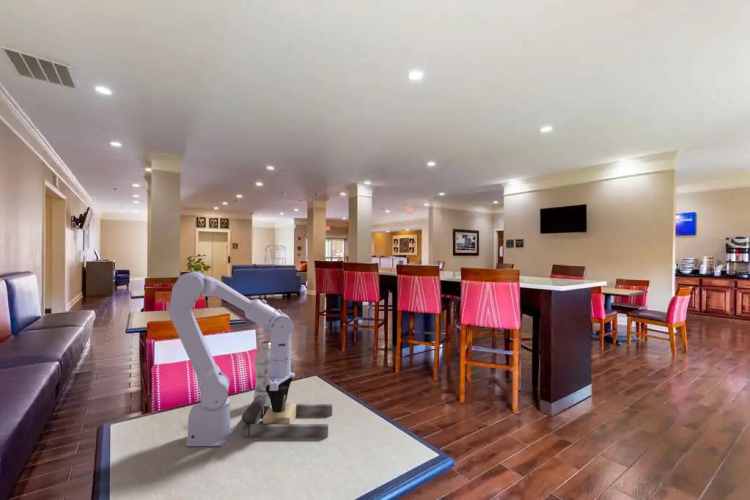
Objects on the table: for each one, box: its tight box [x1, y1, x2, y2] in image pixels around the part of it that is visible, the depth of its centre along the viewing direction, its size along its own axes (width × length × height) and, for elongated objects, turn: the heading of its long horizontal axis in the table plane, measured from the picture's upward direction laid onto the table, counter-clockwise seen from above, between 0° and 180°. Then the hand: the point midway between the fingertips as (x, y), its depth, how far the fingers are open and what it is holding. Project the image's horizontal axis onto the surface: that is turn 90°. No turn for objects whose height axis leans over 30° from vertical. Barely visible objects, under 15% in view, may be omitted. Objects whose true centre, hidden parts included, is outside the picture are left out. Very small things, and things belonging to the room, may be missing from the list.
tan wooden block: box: [262, 395, 297, 424], centre depth 96 cm, size 7×9×8 cm
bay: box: [241, 395, 333, 439], centre depth 96 cm, size 23×14×7 cm, turn 92°
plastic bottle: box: [253, 340, 271, 406], centre depth 112 cm, size 6×7×20 cm
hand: (279, 407), depth 96 cm, fingers open, 5 cm apart
